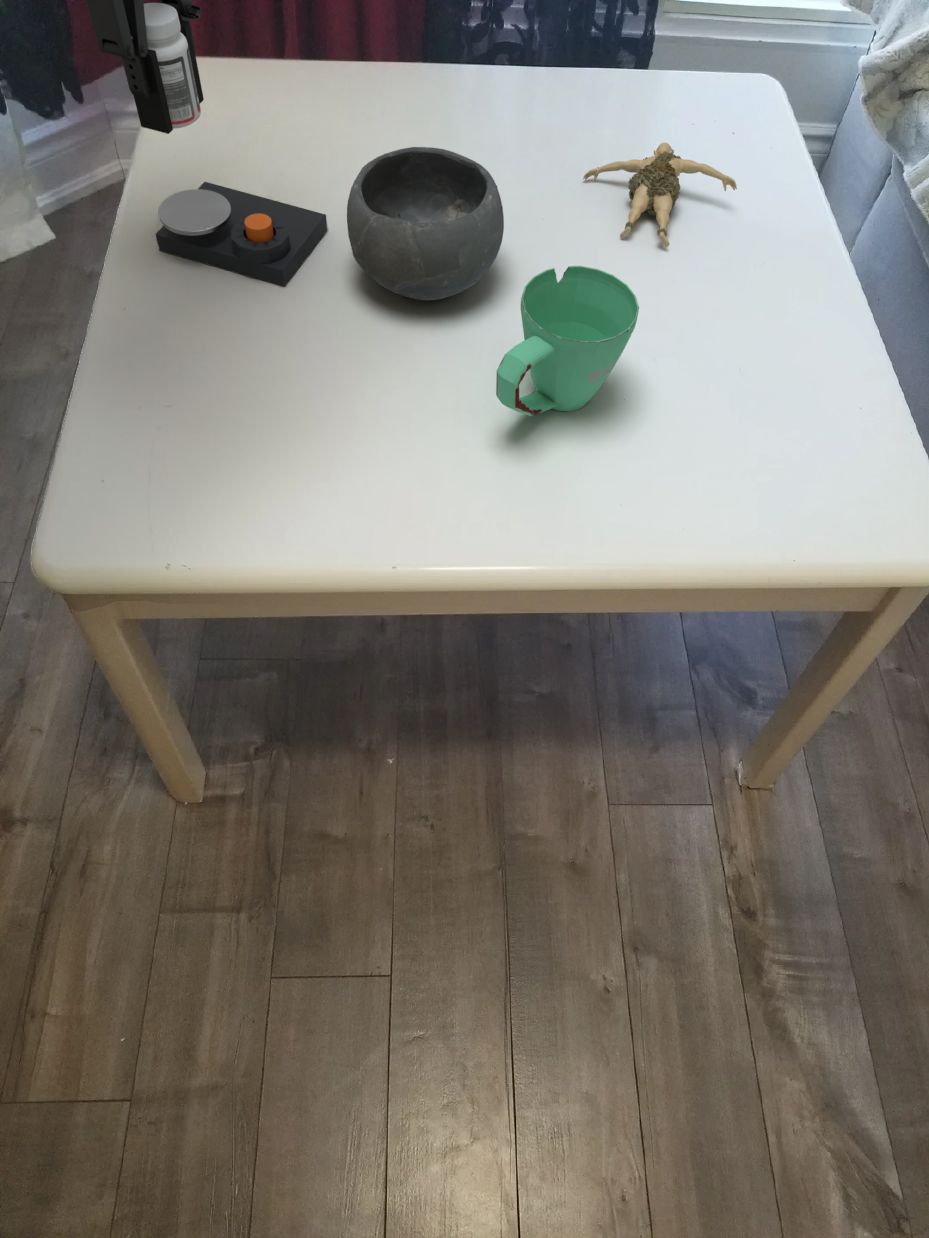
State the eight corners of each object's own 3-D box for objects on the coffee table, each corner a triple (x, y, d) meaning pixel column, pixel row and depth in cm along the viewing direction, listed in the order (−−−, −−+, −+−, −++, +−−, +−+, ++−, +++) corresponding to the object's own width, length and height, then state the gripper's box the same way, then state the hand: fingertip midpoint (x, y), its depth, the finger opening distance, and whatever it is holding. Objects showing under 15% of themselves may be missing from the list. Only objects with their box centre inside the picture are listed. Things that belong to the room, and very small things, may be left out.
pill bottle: (163, 97, 83) (140, -5, 76) (210, 108, 83) (191, 6, 76) (137, 123, 81) (111, 20, 74) (186, 135, 80) (164, 31, 73)
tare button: (278, 231, 90) (276, 217, 89) (266, 246, 89) (263, 232, 87) (254, 225, 90) (252, 210, 89) (242, 239, 89) (239, 225, 88)
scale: (327, 231, 96) (325, 200, 93) (283, 288, 90) (279, 257, 87) (207, 198, 98) (201, 166, 95) (158, 252, 92) (149, 221, 89)
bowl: (481, 338, 88) (489, 246, 79) (332, 310, 89) (323, 216, 80) (511, 246, 96) (520, 154, 87) (373, 222, 97) (370, 128, 88)
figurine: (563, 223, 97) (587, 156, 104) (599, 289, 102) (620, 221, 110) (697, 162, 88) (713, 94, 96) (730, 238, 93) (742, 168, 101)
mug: (553, 342, 88) (568, 250, 79) (637, 391, 85) (662, 301, 76) (454, 422, 81) (459, 332, 73) (541, 479, 78) (557, 391, 70)
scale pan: (161, 239, 88) (160, 234, 87) (157, 197, 92) (155, 192, 91) (235, 232, 89) (234, 227, 89) (227, 190, 93) (227, 186, 92)
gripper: (71, -180, 57) (158, 175, 76) (211, -259, 66) (257, 76, 86) (-33, -202, 58) (80, 154, 77) (120, -277, 67) (186, 58, 87)
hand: (172, 112), depth 82 cm, fingers closed on pill bottle, 5 cm apart
